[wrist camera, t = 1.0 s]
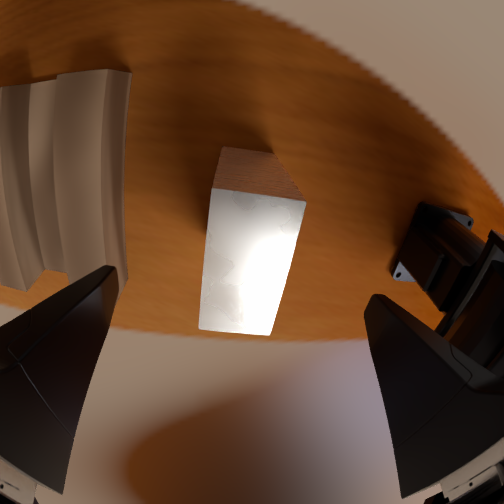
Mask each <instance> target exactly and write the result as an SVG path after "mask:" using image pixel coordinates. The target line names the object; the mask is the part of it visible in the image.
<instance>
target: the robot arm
mask: <svg viewBox="0 0 504 504" xmlns="http://www.w3.org/2000/svg"><path fill="white" fill-rule="evenodd" d="M424 207H425V209H424V211H423V208H424ZM472 225H473V219H472V218H471V217H470V216H468V215H465V214H462V213H459V212H456V211H453V210H450V209H447V208H444V207H440V206H437V205H434V204H431V203H427V202H421V203H420V204H419V205H418V207H417V210H416V213H415V215H414V218H413V221H412V223H411V226H410V229H409V231H408V234H407V236H406V239H405V241H404V244H403V246H402V249H401V251H400V253H399V256H398V258H397V260H396V263H395V265H394V267H393V269H392V272H391V276H392V277H393V278H394V280H399V281H410V282H417V284H418V285H419V286H420V288H421V289H422V290H423V291H424V292H425V293H426V294H427V295H428V296H429V298H430V299H431V300H432V302H433V303H434V304H435V306H436V307H437V309H438V310H439V311H440V312H442V313H443V314H444V315H445V316H444V317H443V319H442V320H441V322H440V323H439V324H438V326H437V327H436V329H435V330H434V331H433V330H432V329H431V328H429V327H428V326H427V325H425V324H424V323H423V322H421V321H420V320H418V319H417V318H416V317H414V316H413V315H412V314H410V313H409V312H407V311H406V310H405V309H403V308H402V307H401V306H399V305H398V304H396V303H395V302H394V301H392V300H391V299H389V298H388V297H386V296H385V295H383V294H373V295H372V297H371V298H370V301H369V303H368V305H367V307H366V309H365V311H364V320H365V325H366V330H367V336H368V341H369V347H370V352H371V355H372V359H373V363H374V366H375V370H376V374H377V378H378V381H379V386H380V389H381V394H382V397H383V402H384V406H385V410H386V415H387V419H388V424H389V429H390V433H391V438H392V443H393V448H394V455H395V460H396V466H397V472H398V479H399V485H400V491H401V497H402V499H403V498H406V497H409V496H411V495H414V494H416V493H419V492H421V491H424V490H426V489H428V488H430V487H433V486H435V485H437V484H439V483H440V485H441V488H442V492H440V493H438V494H436V495H434V496H432V497H429V498H427V499H426V500H425V502H424V504H504V235H502V234H500V233H498V232H496V231H494V230H492V229H491V231H490V233H489V235H488V240H487V242H486V243H485V242H484V241H482V240H481V239H480V238H479V237H478V236H476V235H475V234H474V233H473V232H471V231H470V230H471V228H472ZM398 272H399V273H398ZM397 273H398V274H397ZM396 274H397V275H396ZM118 293H119V281H118V272H117V268H116V267H115V266H110V265H104V266H102V267H100V268H98V269H96V270H95V271H93V272H91V273H89V274H88V275H86V276H84V277H82V278H81V279H79V280H77V281H75V282H74V283H72V284H70V285H69V286H67V287H65V288H64V289H62V290H60V291H58V292H57V293H55V294H53V295H52V296H50V297H48V298H47V299H45V300H44V301H42V302H40V303H39V304H37V305H35V306H34V307H32V308H31V309H29V310H27V311H26V312H24V313H23V314H21V315H19V316H18V317H16V318H15V319H13V320H12V321H10V322H8V323H6V324H4V325H2V326H1V327H0V504H38V502H37V500H36V498H35V497H34V496H35V491H36V487H37V484H39V485H41V486H43V487H45V488H48V489H50V490H52V491H54V492H57V493H59V494H61V495H62V494H63V490H64V484H65V479H66V474H67V468H68V464H69V459H70V454H71V450H72V446H73V441H74V439H73V438H74V437H75V432H76V429H77V425H78V421H79V418H80V414H81V411H82V407H83V404H84V400H85V397H86V394H87V391H88V387H89V384H90V381H91V378H92V375H93V372H94V369H95V366H96V363H97V360H98V357H99V355H100V352H101V349H102V346H103V343H104V341H105V338H106V336H107V333H108V330H109V326H110V323H111V319H112V315H113V311H114V308H115V304H116V300H117V297H118Z"/></svg>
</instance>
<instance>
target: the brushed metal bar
mask: <svg viewBox="0 0 504 504" xmlns="http://www.w3.org/2000/svg"><path fill="white" fill-rule="evenodd" d="M305 206H306V200H305V198H304V197H303V195H302V194H301V192H300V191H299V189H298V188H297V186H296V185H295V183H294V182H293V180H292V179H291V177H290V176H289V174H288V173H287V171H286V170H285V168H284V167H283V165H282V164H281V163H280V161H279V160H278V158H277V157H276V155H275V154H273V153H267V152H261V151H254V150H247V149H241V148H233V147H225V146H222V150H221V154H220V157H219V161H218V165H217V169H216V173H215V177H214V181H213V186H212V191H211V200H210V208H209V217H208V226H207V236H206V245H205V256H204V267H203V278H202V290H201V303H200V317H199V329H202V330H211V331H222V332H233V333H245V334H258V335H270V332H271V329H272V325H273V322H274V319H275V315H276V312H277V309H278V305H279V302H280V298H281V295H282V291H283V288H284V284H285V281H286V277H287V274H288V270H289V267H290V263H291V259H292V256H293V252H294V248H295V245H296V241H297V237H298V233H299V229H300V226H301V222H302V218H303V214H304V210H305Z"/></svg>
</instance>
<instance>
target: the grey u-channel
mask: <svg viewBox="0 0 504 504" xmlns="http://www.w3.org/2000/svg"><path fill="white" fill-rule="evenodd" d="M131 79H132V73H129V72H123V71H117V70H111V69H101V70H90V71H81V72H73V73H65V74H59V75H57V79H55V80H49V81H43V82H38V83H32V84H23V85H13V86H4V87H0V283H1V285H3V286H7V287H10V288H14V289H18V290H22V291H26V292H27V291H28V290H29V289H30V287H31V286H32V285H33V283H34V282H35V281H36V280H37V278H38V277H39V276H40V275H41V273H42V272H43V271H44V270H45V269H47V270H53V271H58V272H64V273H67V275H68V279H69V284H72V283H74V282H75V281H77V280H79V279H81V278H82V277H84V276H86V275H88V274H89V273H91V272H93V271H95V270H96V269H98V268H100V267H102V266H104V265H110V266H115V267H116V268H117V272H118V281H119V293H118V297H117V300H116V303H117V301H118V299H119V297H120V295H121V292H122V290H123V288H124V286H125V284H126V282H127V280H128V273H127V260H126V245H125V223H124V162H125V141H126V126H127V114H128V104H129V95H130V87H131ZM115 305H116V304H115Z"/></svg>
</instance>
